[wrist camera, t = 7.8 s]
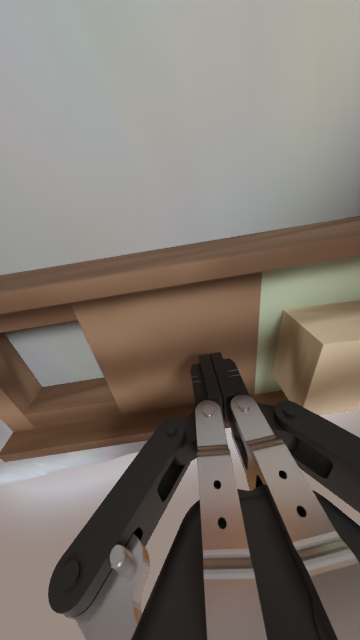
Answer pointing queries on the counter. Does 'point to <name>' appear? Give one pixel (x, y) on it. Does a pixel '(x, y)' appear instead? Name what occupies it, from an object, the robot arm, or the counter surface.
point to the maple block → (320, 357)
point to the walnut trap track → (163, 329)
